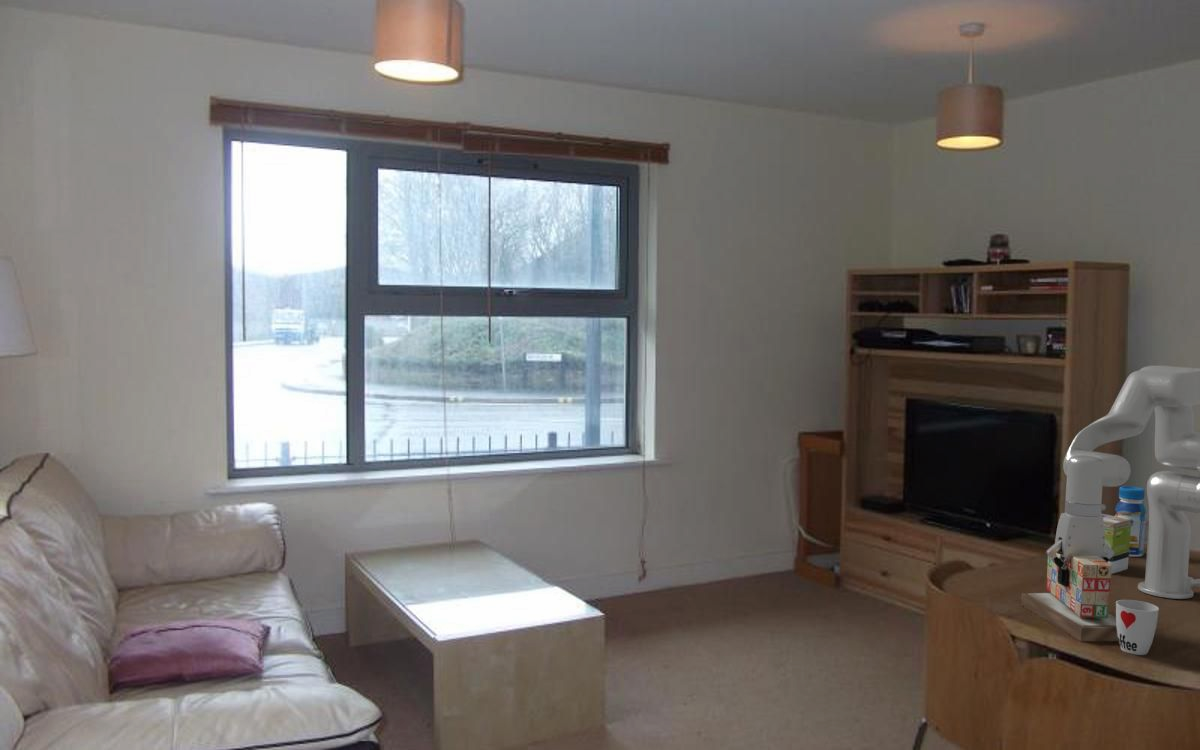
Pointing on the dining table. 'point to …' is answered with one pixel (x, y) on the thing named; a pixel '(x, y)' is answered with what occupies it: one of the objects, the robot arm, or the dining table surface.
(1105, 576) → the stack of blocks
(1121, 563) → the tea box
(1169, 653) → the dining table surface
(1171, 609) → the dining table surface
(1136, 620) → the cup
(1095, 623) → the picture frame
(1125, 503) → the beverage bottle
